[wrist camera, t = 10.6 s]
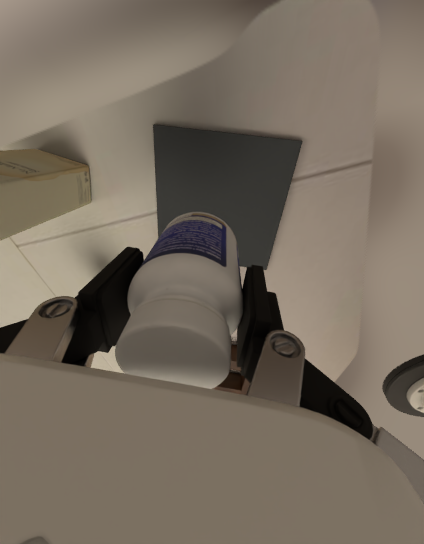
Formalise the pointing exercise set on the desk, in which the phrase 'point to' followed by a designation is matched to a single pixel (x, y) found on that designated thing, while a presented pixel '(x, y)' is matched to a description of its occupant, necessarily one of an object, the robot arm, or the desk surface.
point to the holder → (234, 378)
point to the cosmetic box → (38, 188)
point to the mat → (225, 183)
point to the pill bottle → (184, 305)
